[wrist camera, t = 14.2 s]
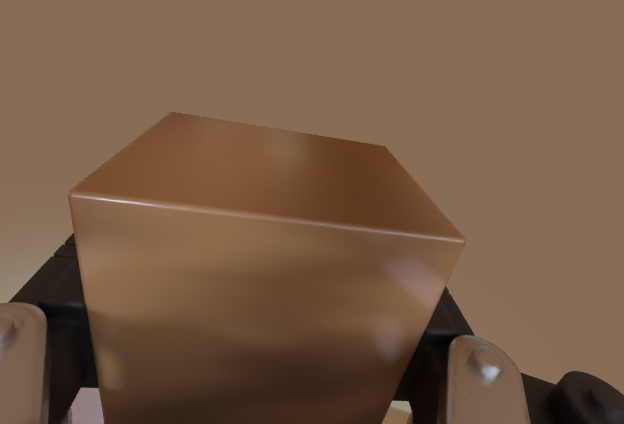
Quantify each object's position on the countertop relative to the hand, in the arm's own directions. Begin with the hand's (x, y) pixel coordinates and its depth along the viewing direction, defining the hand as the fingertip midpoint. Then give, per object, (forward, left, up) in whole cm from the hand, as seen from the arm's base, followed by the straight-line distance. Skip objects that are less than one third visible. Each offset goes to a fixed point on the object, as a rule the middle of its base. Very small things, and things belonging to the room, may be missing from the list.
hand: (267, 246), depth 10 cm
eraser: (0, -1, -7) cm, 7 cm away
